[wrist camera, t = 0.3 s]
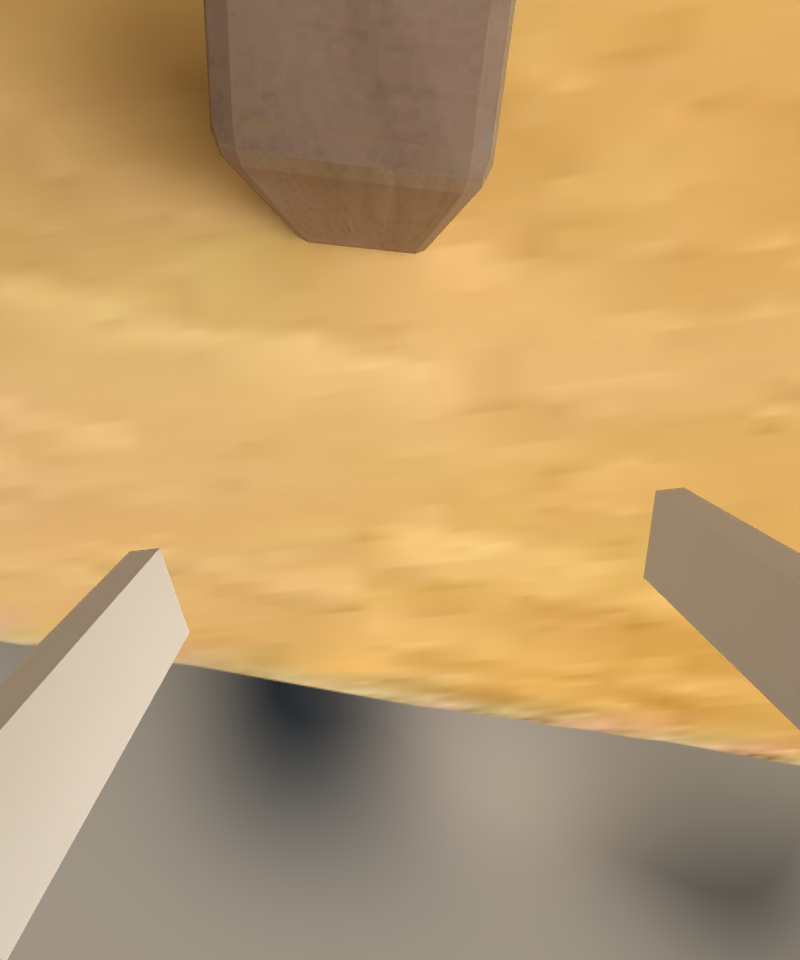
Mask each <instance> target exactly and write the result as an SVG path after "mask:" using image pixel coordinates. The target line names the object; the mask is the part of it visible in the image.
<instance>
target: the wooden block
mask: <svg viewBox="0 0 800 960" xmlns="http://www.w3.org/2000/svg"><path fill="white" fill-rule="evenodd" d="M515 2H516V0H204V18H205V35H206V53H207V70H208V88H209V105H210V123H211V131H212V133H213V136H214V138H215V141H216V144H217V146H218V149H219V151H220V154H221V155H222V157H223V158H224V159H225V160H226V161H227V162H228V163H229V164H230V165H231V166H232V167H233V168H234V169H235V170H236V171H237V172H238V173H239V174H240V175H241V176H242V178H243V179H244V180H245V181H246V182H247V183H248V184H249V185H250V186H251V187H252V188H253V189H254V190H255V191H256V192H257V193H258V194H259V195H260V196H261V197H262V199H263V200H264V201H265V202H266V203H267V204H268V205H269V206H270V207H271V208H272V209H273V210H274V211H275V212H276V213H277V214H278V215H279V216H280V217H281V219H282V220H283V221H284V222H285V223H286V224H287V225H288V226H289V227H290V228H291V229H292V230H293V231H294V232H295V233H296V234H297V235H298V236H299V237H300V238H302V239H304V240H305V241H307V242H311V243H321V244H330V245H339V246H348V247H358V248H367V249H376V250H385V251H395V252H404V253H413V254H415V253H418V252H421V251H424V250H425V249H426V248H427V247H428V246H429V245H430V244H431V243H432V242H433V241H434V239H435V238H436V237H437V236H438V235H439V234H440V233H441V232H442V231H443V230H444V228H445V227H446V226H447V225H448V224H449V223H450V222H451V221H452V220H453V219H454V217H455V216H456V215H457V214H458V213H459V212H460V211H461V210H462V209H463V208H464V206H465V205H466V204H467V203H468V202H469V201H470V200H471V199H472V198H473V197H474V196H475V194H476V193H477V192H478V191H479V190H480V189H481V188H482V186H483V184H484V182H485V180H486V178H487V176H488V174H489V172H490V170H491V168H492V166H493V161H494V153H495V146H496V139H497V132H498V124H499V117H500V110H501V103H502V96H503V88H504V81H505V74H506V67H507V60H508V52H509V45H510V38H511V31H512V24H513V16H514V9H515Z"/></svg>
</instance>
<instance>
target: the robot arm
mask: <svg viewBox="0 0 800 960" xmlns="http://www.w3.org/2000/svg"><path fill="white" fill-rule="evenodd" d="M644 578H645V579H646V580H647V581H648V582H649V583H650V584H651V585H652V586H653V587H654V588H655V589H656V590H657V591H658V592H659V593H660V594H661V595H662V596H663V597H664V598H665V599H666V600H667V601H668V602H669V603H670V604H671V605H672V606H673V607H674V608H675V609H676V610H677V611H678V612H679V613H680V614H681V615H682V616H684V617H685V618H686V619H687V620H688V621H689V622H690V623H691V624H692V625H693V626H694V627H695V628H696V629H697V630H698V631H699V632H700V633H701V634H702V635H703V636H704V637H705V638H706V639H707V640H708V641H709V642H710V643H711V644H712V645H713V646H714V647H715V648H716V649H717V650H718V651H719V652H720V653H721V654H722V655H723V656H724V657H725V658H726V659H727V660H728V661H729V662H731V663H732V664H733V665H734V666H735V667H736V668H737V669H738V670H739V671H740V672H741V673H742V674H743V675H744V676H745V677H746V678H747V679H748V680H749V681H750V682H751V683H752V684H753V685H754V686H755V687H756V688H757V689H758V690H759V691H760V692H761V693H762V694H763V695H764V696H765V697H766V698H767V699H768V700H769V701H770V702H771V703H772V704H773V705H774V706H775V707H776V708H778V709H779V710H780V711H781V712H782V713H783V714H784V715H785V716H786V717H787V718H788V719H789V720H790V721H791V722H792V723H793V724H794V725H795V726H796V727H797V728H798V729H799V730H800V553H798V552H796V551H795V550H793V549H791V548H789V547H787V546H786V545H784V544H782V543H780V542H779V541H777V540H775V539H773V538H772V537H770V536H768V535H766V534H765V533H763V532H761V531H759V530H758V529H756V528H754V527H752V526H751V525H749V524H747V523H745V522H743V521H742V520H740V519H738V518H736V517H735V516H733V515H731V514H729V513H728V512H726V511H724V510H722V509H721V508H719V507H717V506H715V505H714V504H712V503H710V502H708V501H706V500H705V499H703V498H701V497H699V496H698V495H696V494H694V493H692V492H691V491H689V490H687V489H685V488H676V489H667V490H659V491H656V493H655V500H654V507H653V514H652V521H651V528H650V536H649V543H648V550H647V557H646V564H645V571H644ZM188 634H189V630H188V627H187V624H186V622H185V619H184V616H183V613H182V610H181V607H180V604H179V602H178V599H177V596H176V593H175V590H174V587H173V584H172V582H171V579H170V576H169V573H168V570H167V567H166V565H165V562H164V559H163V556H162V553H161V550H160V548H157V549H148V550H139V551H131V552H129V553H128V554H127V555H126V556H125V557H124V558H123V559H122V560H121V561H120V562H119V563H118V564H117V565H116V566H115V567H114V568H113V569H112V570H111V571H110V572H109V573H108V574H107V575H106V576H105V577H104V578H103V579H102V580H101V581H100V582H99V583H98V584H97V585H96V586H95V587H94V588H93V589H92V590H91V591H90V592H89V593H88V595H87V596H86V597H85V598H84V599H83V600H82V601H81V602H80V603H79V604H78V605H77V606H76V607H75V608H74V609H73V610H72V611H71V612H70V613H69V614H68V615H67V616H66V617H65V618H64V619H63V620H62V621H61V622H60V623H59V624H58V625H57V626H56V627H55V628H54V629H53V630H52V631H51V632H50V633H49V634H48V635H47V636H46V637H45V638H44V639H43V640H42V641H41V642H40V643H39V644H38V645H37V646H36V647H35V648H34V649H33V650H32V651H31V652H30V653H29V654H28V655H27V656H26V657H25V658H24V659H23V660H22V661H21V662H20V664H18V666H16V668H15V669H13V670H12V671H11V673H10V674H9V675H8V676H7V677H6V678H5V679H4V680H3V681H2V682H1V683H0V960H7V959H8V957H9V955H10V954H11V952H12V950H13V948H14V946H15V945H16V943H17V941H18V939H19V937H20V936H21V934H22V932H23V930H24V928H25V927H26V925H27V923H28V921H29V919H30V918H31V916H32V914H33V912H34V910H35V909H36V907H37V905H38V903H39V901H40V900H41V898H42V896H43V894H44V892H45V891H46V889H47V887H48V885H49V883H50V882H51V880H52V878H53V876H54V874H55V873H56V871H57V869H58V867H59V865H60V864H61V862H62V860H63V858H64V857H65V855H66V853H67V851H68V849H69V848H70V846H71V844H72V842H73V840H74V839H75V837H76V835H77V833H78V831H79V830H80V828H81V826H82V824H83V822H84V821H85V819H86V817H87V815H88V813H89V812H90V810H91V808H92V806H93V804H94V803H95V801H96V799H97V797H98V795H99V794H100V792H101V790H102V788H103V786H104V785H105V783H106V781H107V779H108V778H109V776H110V774H111V772H112V770H113V768H114V767H115V765H116V763H117V761H118V759H119V758H120V756H121V754H122V752H123V751H124V749H125V747H126V745H127V743H128V741H129V740H130V738H131V736H132V734H133V733H134V731H135V729H136V727H137V725H138V724H139V722H140V720H141V718H142V716H143V714H144V713H145V711H146V709H147V707H148V706H149V704H150V702H151V700H152V698H153V697H154V695H155V693H156V691H157V689H158V688H159V686H160V684H161V682H162V681H163V679H164V677H165V675H166V673H167V671H168V670H169V668H170V666H171V664H172V663H173V661H174V659H175V657H176V655H177V654H178V652H179V650H180V648H181V646H182V645H183V643H184V641H185V639H186V637H187V636H188Z"/></svg>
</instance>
